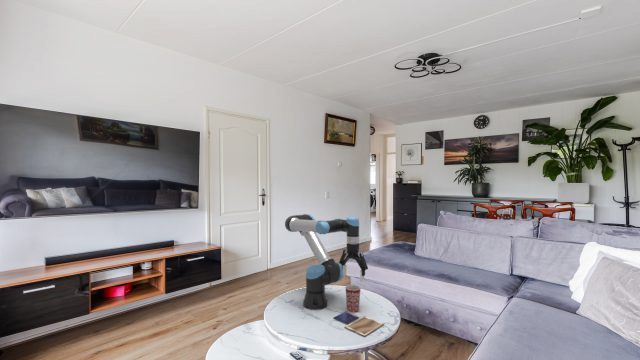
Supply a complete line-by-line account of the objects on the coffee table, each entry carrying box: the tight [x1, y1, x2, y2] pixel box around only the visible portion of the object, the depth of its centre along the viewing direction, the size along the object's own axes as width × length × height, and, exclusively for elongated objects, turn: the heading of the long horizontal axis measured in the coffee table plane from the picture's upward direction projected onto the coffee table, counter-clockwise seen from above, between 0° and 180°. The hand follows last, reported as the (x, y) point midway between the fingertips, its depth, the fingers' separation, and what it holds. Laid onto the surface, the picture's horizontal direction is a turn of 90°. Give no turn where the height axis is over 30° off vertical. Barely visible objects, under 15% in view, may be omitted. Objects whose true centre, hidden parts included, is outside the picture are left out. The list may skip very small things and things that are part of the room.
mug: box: [345, 284, 362, 313], centre depth 173 cm, size 13×9×14 cm
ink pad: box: [333, 311, 360, 326], centre depth 160 cm, size 10×10×1 cm
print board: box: [344, 315, 385, 338], centre depth 151 cm, size 13×17×1 cm
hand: (353, 278), depth 173 cm, fingers open, 13 cm apart
